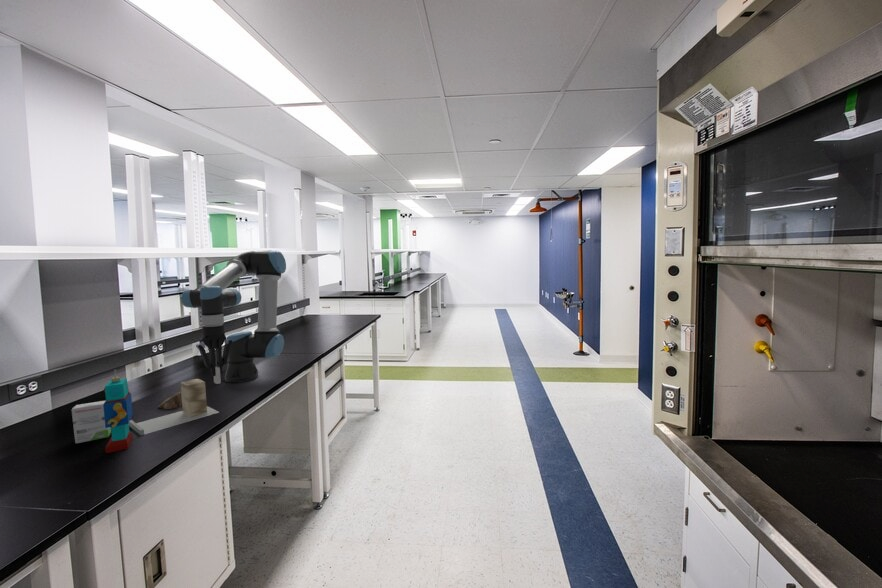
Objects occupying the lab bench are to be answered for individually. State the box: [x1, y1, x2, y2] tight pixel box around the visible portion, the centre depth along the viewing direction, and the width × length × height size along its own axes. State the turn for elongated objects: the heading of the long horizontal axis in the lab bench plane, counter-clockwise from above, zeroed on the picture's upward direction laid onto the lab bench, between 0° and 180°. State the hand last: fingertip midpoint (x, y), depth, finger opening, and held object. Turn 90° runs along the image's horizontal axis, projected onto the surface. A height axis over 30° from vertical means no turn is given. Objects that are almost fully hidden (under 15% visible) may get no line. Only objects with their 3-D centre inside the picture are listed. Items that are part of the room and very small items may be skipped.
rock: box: [158, 390, 182, 410], centre depth 163 cm, size 15×10×6 cm
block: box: [180, 378, 208, 418], centre depth 151 cm, size 6×7×12 cm
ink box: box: [71, 400, 112, 444], centre depth 131 cm, size 9×5×12 cm, turn 121°
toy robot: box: [103, 369, 134, 454], centre depth 125 cm, size 12×6×25 cm, turn 30°
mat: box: [129, 405, 220, 436], centre depth 146 cm, size 25×14×2 cm, turn 142°
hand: (217, 383), depth 157 cm, fingers closed
